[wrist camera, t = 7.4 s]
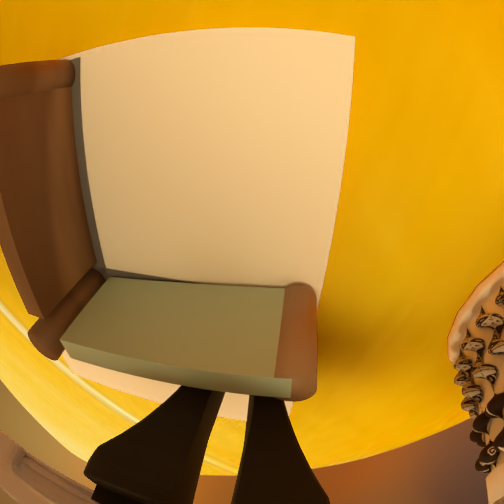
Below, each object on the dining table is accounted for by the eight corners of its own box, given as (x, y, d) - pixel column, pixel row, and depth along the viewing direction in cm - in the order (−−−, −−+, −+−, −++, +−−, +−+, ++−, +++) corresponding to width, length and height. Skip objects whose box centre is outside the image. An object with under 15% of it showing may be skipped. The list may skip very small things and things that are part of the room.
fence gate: (117, 298, 13) (73, 361, 9) (108, 273, 12) (57, 335, 9) (315, 314, 11) (313, 402, 8) (317, 285, 11) (319, 375, 7)
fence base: (87, 291, 13) (38, 353, 10) (49, 64, 8) (-41, 79, 4) (112, 297, 13) (64, 365, 9) (78, 55, 8) (-18, 63, 4)
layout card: (76, 368, 19) (72, 374, 19) (-6, 88, 9) (-14, 90, 8) (286, 419, 17) (285, 426, 17) (352, 39, 7) (355, 36, 6)
